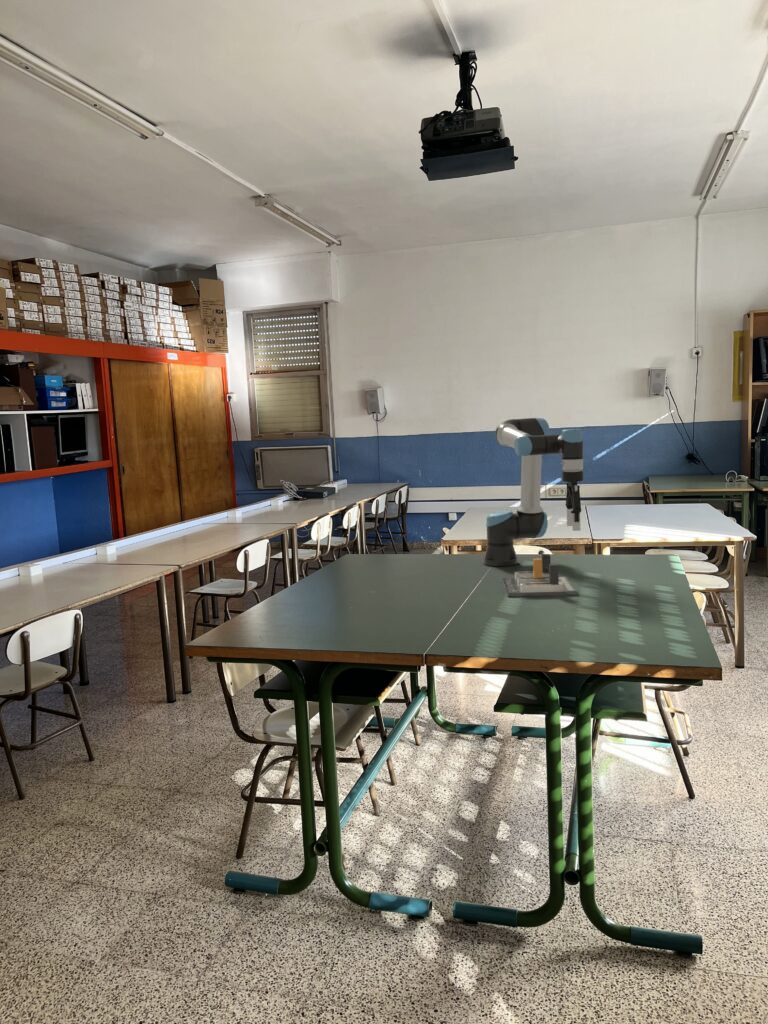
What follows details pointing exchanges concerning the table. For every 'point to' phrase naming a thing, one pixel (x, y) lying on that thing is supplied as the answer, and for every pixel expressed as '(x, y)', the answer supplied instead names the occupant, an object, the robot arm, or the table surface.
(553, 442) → the robot arm
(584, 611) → the table surface
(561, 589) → the breaker panel
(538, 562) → the breaker handle
